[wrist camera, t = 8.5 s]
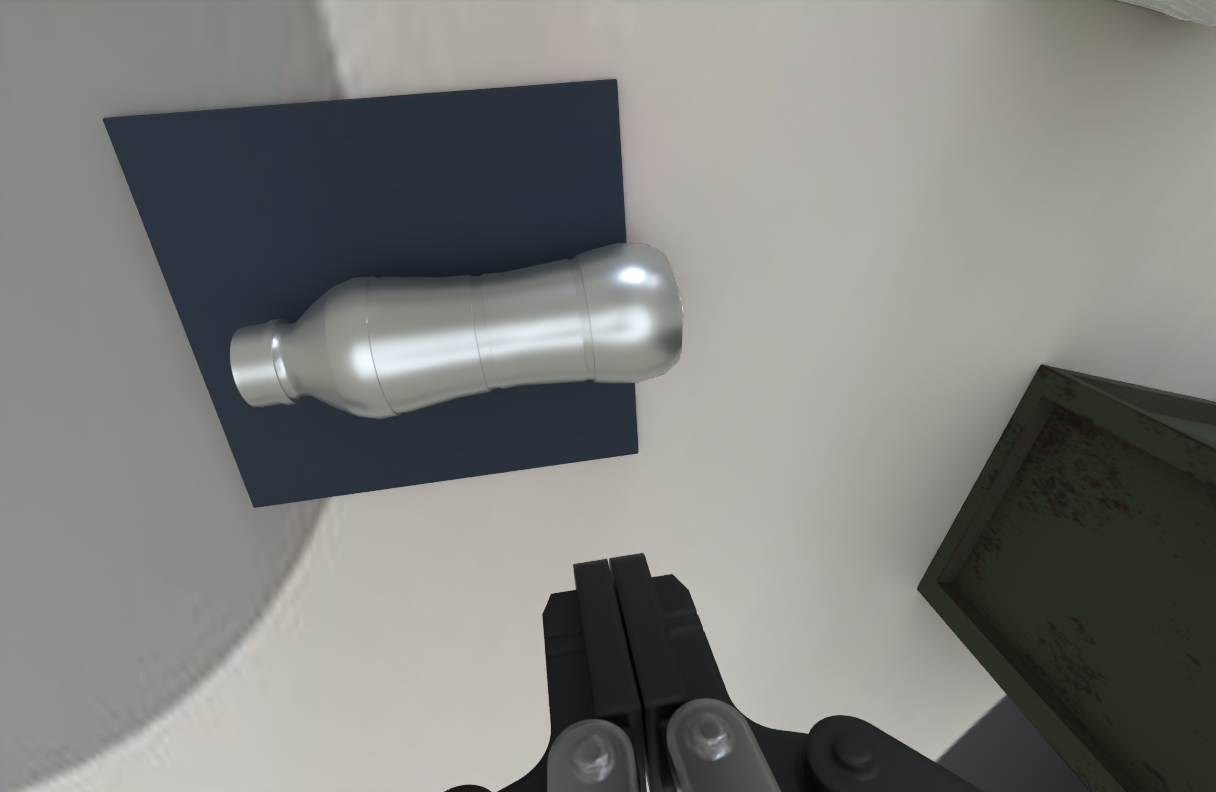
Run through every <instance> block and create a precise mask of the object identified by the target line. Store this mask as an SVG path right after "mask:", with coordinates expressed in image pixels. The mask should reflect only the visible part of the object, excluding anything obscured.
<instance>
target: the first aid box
mask: <svg viewBox="0 0 1216 792" xmlns="http://www.w3.org/2000/svg"><path fill="white" fill-rule="evenodd" d="M917 590H918V591H919V592H920V593H921V594H922V596H923V597H924V598H925V599H926V600H927V601H928V603H929V604H930V605H931V606H932V607H933V608H934V610H935V611H936V612H937V613H938V614H939V615H940V617H941V618H942V619H943V620H944V621H945V623H946V624H947V625H948V626H949V627H950V628H951V630H952V631H953V632H954V633H955V634H956V635H957V637H958V638H959V639H960V640H961V641H962V642H963V644H964V645H965V646H966V647H967V648H968V649H969V651H970V652H971V653H972V654H973V655H974V656H975V658H976V659H977V660H978V661H979V662H980V664H981V665H982V666H983V667H984V668H985V669H986V671H987V672H988V673H989V674H990V675H991V676H992V678H993V679H994V680H995V681H996V682H997V683H998V685H999V686H1000V687H1001V688H1002V689H1003V690H1004V692H1005V693H1006V694H1007V695H1008V696H1009V698H1011V700H1012V701H1013V702H1014V703H1015V704H1016V706H1017V707H1018V708H1019V709H1020V710H1021V711H1022V713H1023V714H1024V715H1025V716H1026V717H1027V719H1028V720H1029V721H1030V722H1031V723H1032V724H1033V726H1034V727H1035V728H1036V729H1037V730H1038V731H1039V733H1040V734H1041V735H1042V736H1043V737H1044V739H1045V740H1046V741H1047V742H1048V743H1049V744H1050V745H1051V747H1052V748H1053V749H1054V750H1055V751H1056V753H1057V754H1058V755H1059V756H1060V757H1061V758H1062V760H1063V761H1064V762H1065V763H1066V764H1067V765H1068V767H1069V768H1070V769H1071V770H1072V771H1073V773H1074V774H1075V775H1076V776H1077V777H1078V778H1079V779H1080V780H1081V781H1082V783H1083V784H1084V785H1085V787H1086V788H1087V789H1088V790H1089V791H1090V792H1216V402H1214V401H1209V400H1205V399H1200V398H1195V397H1190V396H1186V395H1181V394H1176V393H1172V392H1167V391H1162V390H1158V389H1153V388H1148V387H1144V386H1139V385H1135V384H1130V383H1125V382H1121V381H1116V380H1111V379H1106V378H1102V377H1097V376H1092V375H1088V374H1083V373H1078V372H1074V371H1069V370H1064V369H1060V368H1055V367H1050V366H1046V365H1041V366H1040V368H1039V370H1038V372H1037V373H1036V375H1035V377H1034V379H1033V381H1032V382H1031V384H1030V386H1029V388H1028V390H1027V391H1026V393H1025V395H1024V397H1023V399H1022V400H1021V402H1020V404H1019V406H1018V408H1017V409H1016V411H1015V413H1014V415H1013V417H1012V418H1011V420H1010V422H1009V424H1008V426H1007V427H1006V429H1005V431H1004V433H1003V435H1002V436H1001V438H1000V440H999V442H998V444H997V445H996V447H995V449H994V451H993V453H992V454H991V456H990V458H989V460H988V462H987V463H986V465H985V467H984V469H983V471H982V472H981V474H980V476H979V478H978V480H977V481H976V483H975V485H974V487H973V489H972V490H971V492H970V494H969V496H968V498H967V499H966V501H965V503H964V505H963V507H962V509H961V510H960V512H959V514H958V516H957V518H956V519H955V521H954V523H953V525H952V527H951V528H950V530H949V532H948V534H947V536H946V537H945V539H944V541H943V543H942V545H941V547H940V548H939V550H938V552H937V554H936V556H935V557H934V559H933V561H932V563H931V565H930V566H929V568H928V570H927V572H926V574H925V575H924V577H923V579H922V581H921V583H920V585H919V586H918V588H917Z"/></svg>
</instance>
